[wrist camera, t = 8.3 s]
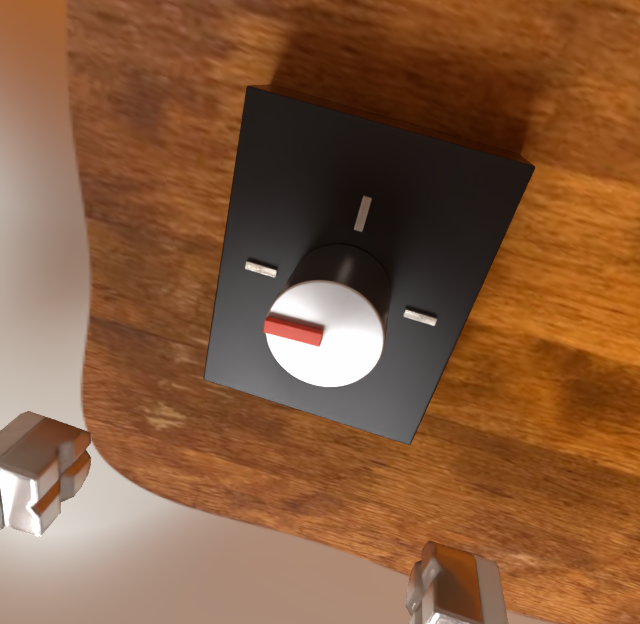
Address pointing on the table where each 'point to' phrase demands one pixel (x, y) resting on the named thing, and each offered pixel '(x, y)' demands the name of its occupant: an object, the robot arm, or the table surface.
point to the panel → (357, 245)
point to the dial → (331, 317)
